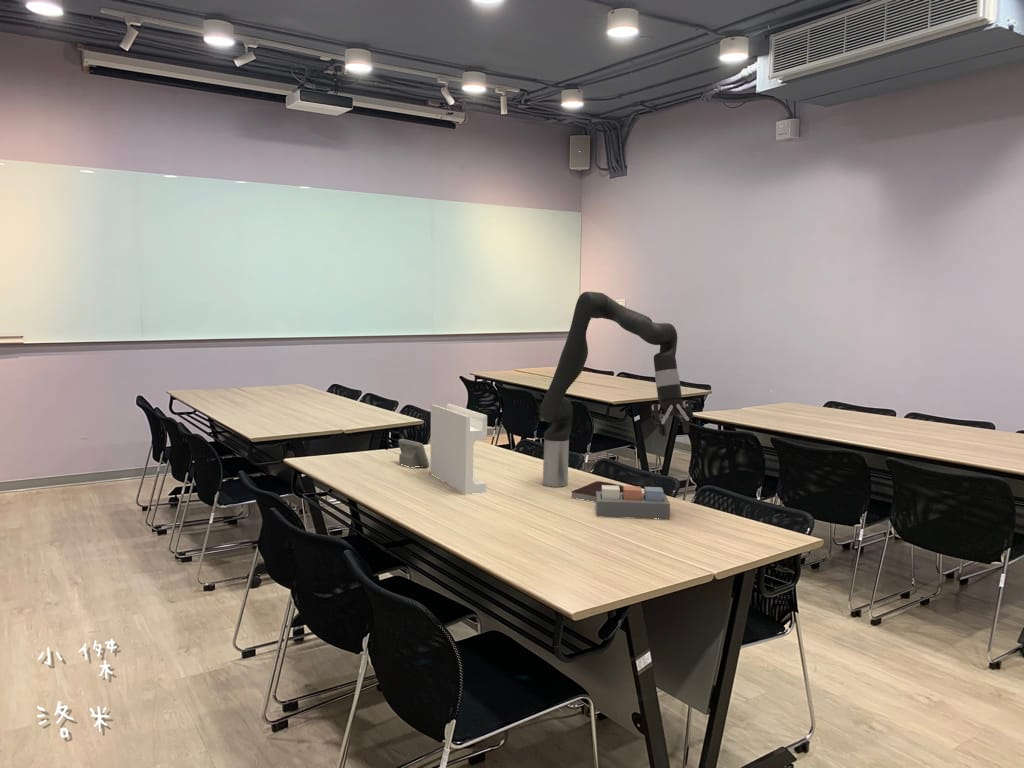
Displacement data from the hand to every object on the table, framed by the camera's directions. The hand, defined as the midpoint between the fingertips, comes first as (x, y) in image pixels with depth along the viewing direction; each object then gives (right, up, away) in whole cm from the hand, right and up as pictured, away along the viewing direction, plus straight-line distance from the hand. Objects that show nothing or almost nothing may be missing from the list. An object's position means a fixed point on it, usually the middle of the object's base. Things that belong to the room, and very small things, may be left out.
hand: (675, 434), depth 235 cm
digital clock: (-93, -18, +71) cm, 119 cm away
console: (-13, -26, +5) cm, 30 cm away
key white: (-20, -22, +6) cm, 30 cm away
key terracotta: (-13, -22, +5) cm, 26 cm away
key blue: (-6, -22, +4) cm, 24 cm away
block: (-73, -21, +42) cm, 87 cm away
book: (-21, -24, +27) cm, 42 cm away
